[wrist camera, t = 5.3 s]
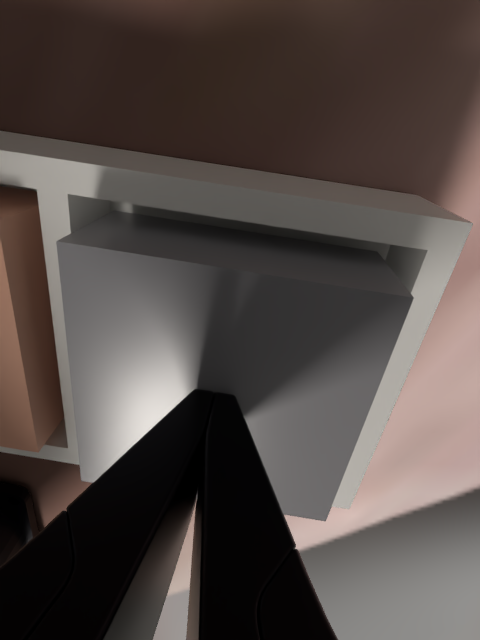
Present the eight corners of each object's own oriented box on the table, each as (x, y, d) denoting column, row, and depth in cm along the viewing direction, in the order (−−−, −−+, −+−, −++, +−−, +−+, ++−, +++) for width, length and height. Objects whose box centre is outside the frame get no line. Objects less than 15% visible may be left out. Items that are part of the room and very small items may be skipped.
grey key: (315, 442, 11) (325, 521, 9) (119, 410, 11) (81, 480, 9) (377, 251, 8) (414, 297, 6) (113, 210, 8) (56, 241, 6)
